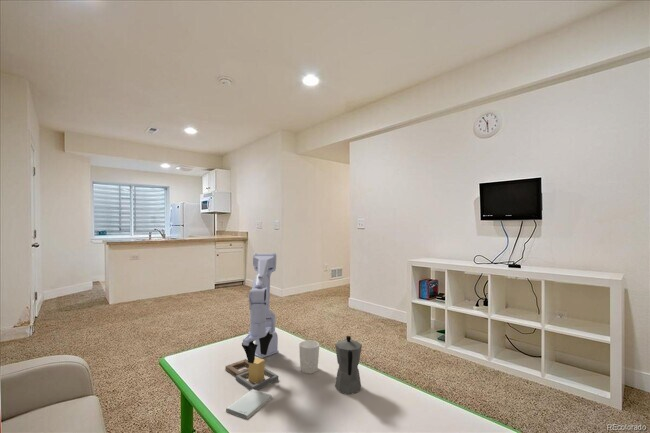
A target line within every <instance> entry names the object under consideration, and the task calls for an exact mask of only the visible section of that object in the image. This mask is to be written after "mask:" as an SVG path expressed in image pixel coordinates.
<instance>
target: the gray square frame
mask: <svg viewBox="0 0 650 433" xmlns="http://www.w3.org/2000/svg"><path fill="white" fill-rule="evenodd" d="M265 375H266V376H267V377H269V378H266V379H263V380H262V381H261V382H259V383H254V384H253V383H252V382H250V381H249V380H247V379H246V378H249V371H247V372H244V373H242V374H239V375H236V377H235V380H236V381H237V382H239V383H240V384H241V385H242V386H244V387H245V388H247V389H249V390H250V391H251V390H252V389H254V390H257V391H258V390H260V389H262V388H264V387H266V386H268V385H270V384H273V383H275V382H277V381H279V375H278V374H276V373H274V372H273V371H271V370H269V369H267V368H266V367H265V369H264V376H265Z"/></svg>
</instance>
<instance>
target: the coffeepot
mask: <svg viewBox="0 0 650 433" xmlns="http://www.w3.org/2000/svg"><path fill="white" fill-rule="evenodd" d="M334 345H335V353H336V360H337V364H338V369H337V372H336V378H335V384H334V387H335V389H336V391H338V392H339V393H341V394H344V393H346V394H345V395H353V394H352V393H355V394H357V393H359V392H360V391H361V389H362V384H361V383H362V382H361V376H360V371H359V365H360V358H361V353H362V347H363V346H362V345H363V344H361V343H360V342H359V341H357V340H352V337H351V335H347V336H346V338H344V339H342V340H338V341H337V342H336V343H335V344H334ZM356 392H357V393H356Z"/></svg>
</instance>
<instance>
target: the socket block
mask: <svg viewBox="0 0 650 433" xmlns="http://www.w3.org/2000/svg"><path fill="white" fill-rule="evenodd" d="M242 367H246V368H243V369H241V370H238V368H242ZM224 369H225V371H226V372H227V373H230V375H232V376H234V377H235V378H236V375H239V374H242V373H244V372H247V371H249V363H248V359H247V358H244V359H242V360H239V361H236V362H233V363H231V364H228V365H225V368H224Z"/></svg>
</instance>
